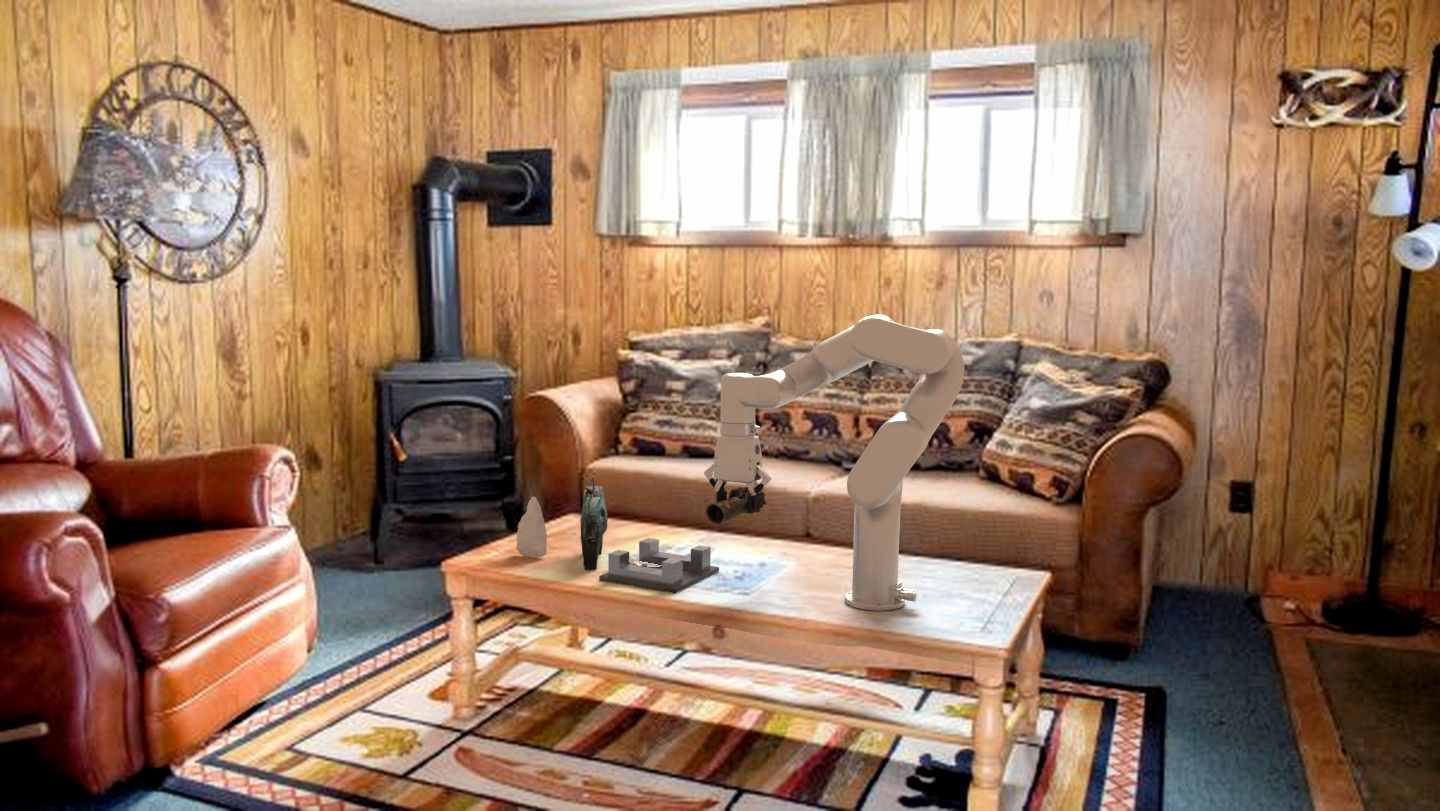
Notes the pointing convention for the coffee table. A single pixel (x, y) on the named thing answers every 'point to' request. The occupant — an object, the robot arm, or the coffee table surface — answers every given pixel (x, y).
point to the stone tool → (532, 532)
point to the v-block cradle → (659, 568)
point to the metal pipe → (732, 505)
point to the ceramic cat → (592, 524)
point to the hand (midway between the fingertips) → (737, 509)
